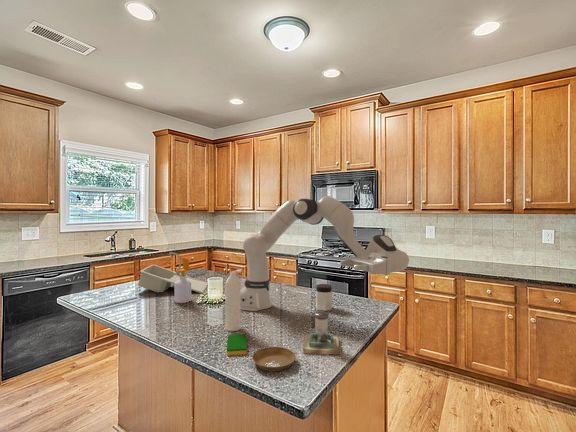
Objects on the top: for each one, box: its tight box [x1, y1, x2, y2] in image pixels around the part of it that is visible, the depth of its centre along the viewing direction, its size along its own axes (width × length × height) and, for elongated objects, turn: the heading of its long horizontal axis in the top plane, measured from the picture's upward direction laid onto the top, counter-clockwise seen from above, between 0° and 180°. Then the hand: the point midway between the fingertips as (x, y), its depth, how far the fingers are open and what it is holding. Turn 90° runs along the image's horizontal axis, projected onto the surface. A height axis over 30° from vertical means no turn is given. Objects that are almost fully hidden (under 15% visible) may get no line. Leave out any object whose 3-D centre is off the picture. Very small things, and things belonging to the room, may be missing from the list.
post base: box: [302, 332, 341, 355], centre depth 119 cm, size 13×13×3 cm
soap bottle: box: [173, 257, 192, 304], centre depth 176 cm, size 9×9×25 cm
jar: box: [315, 283, 333, 312], centre depth 165 cm, size 9×8×12 cm
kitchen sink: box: [137, 252, 208, 294], centre depth 203 cm, size 24×40×25 cm, turn 95°
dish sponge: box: [226, 333, 248, 356], centre depth 119 cm, size 7×14×2 cm, turn 9°
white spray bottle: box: [224, 268, 243, 332], centre depth 137 cm, size 9×6×25 cm
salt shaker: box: [313, 310, 330, 343], centre depth 119 cm, size 5×5×11 cm
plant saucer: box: [251, 346, 297, 372], centre depth 106 cm, size 15×15×3 cm
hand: (348, 265), depth 124 cm, fingers open, 8 cm apart
